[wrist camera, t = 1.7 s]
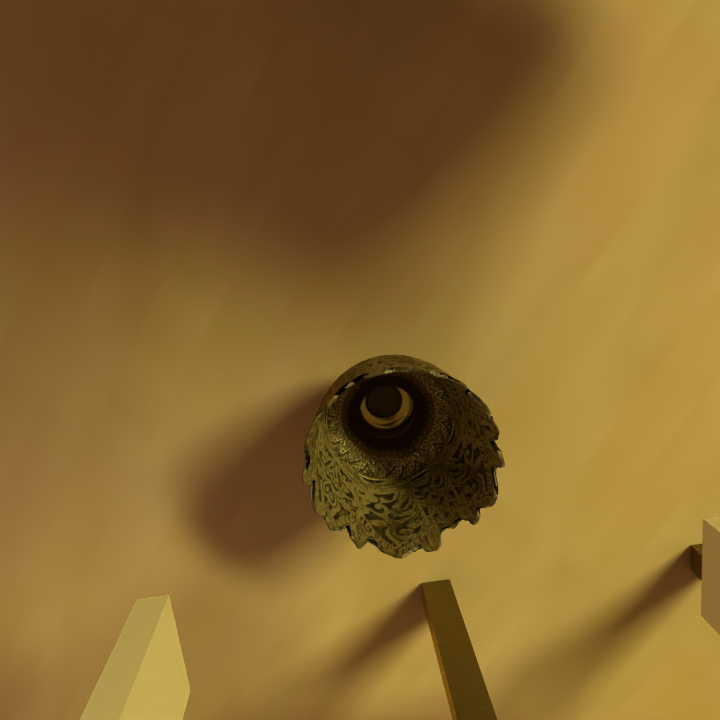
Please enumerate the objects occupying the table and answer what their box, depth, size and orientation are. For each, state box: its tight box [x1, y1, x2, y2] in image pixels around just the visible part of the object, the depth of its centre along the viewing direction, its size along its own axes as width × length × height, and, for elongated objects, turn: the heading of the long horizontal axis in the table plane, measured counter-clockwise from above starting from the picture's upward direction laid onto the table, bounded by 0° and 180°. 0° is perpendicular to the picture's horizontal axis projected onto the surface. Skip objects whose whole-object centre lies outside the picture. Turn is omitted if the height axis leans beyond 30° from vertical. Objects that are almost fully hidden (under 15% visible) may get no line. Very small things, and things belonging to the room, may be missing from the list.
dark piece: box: [303, 355, 505, 558], centre depth 26 cm, size 8×7×8 cm
